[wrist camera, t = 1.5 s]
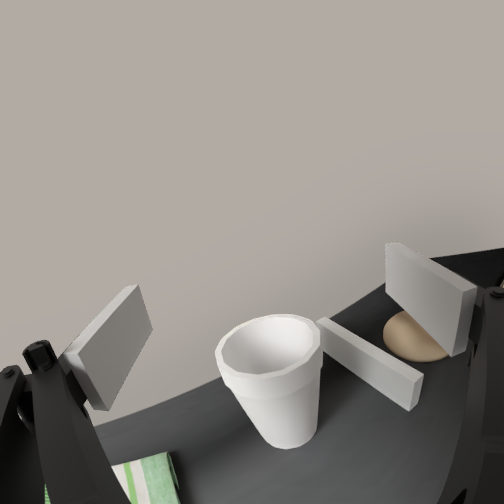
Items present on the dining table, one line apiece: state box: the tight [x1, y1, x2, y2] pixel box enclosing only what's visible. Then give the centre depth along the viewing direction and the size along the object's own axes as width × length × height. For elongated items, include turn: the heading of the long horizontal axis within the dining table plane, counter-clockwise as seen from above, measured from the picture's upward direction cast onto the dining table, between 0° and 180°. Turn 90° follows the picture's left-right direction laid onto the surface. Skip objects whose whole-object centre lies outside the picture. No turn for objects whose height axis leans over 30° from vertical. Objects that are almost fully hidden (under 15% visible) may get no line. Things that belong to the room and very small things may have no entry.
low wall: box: [316, 317, 424, 411], centre depth 32 cm, size 2×18×5 cm, turn 26°
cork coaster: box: [383, 310, 449, 362], centre depth 36 cm, size 13×13×1 cm
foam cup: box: [215, 314, 323, 449], centre depth 26 cm, size 10×9×13 cm
